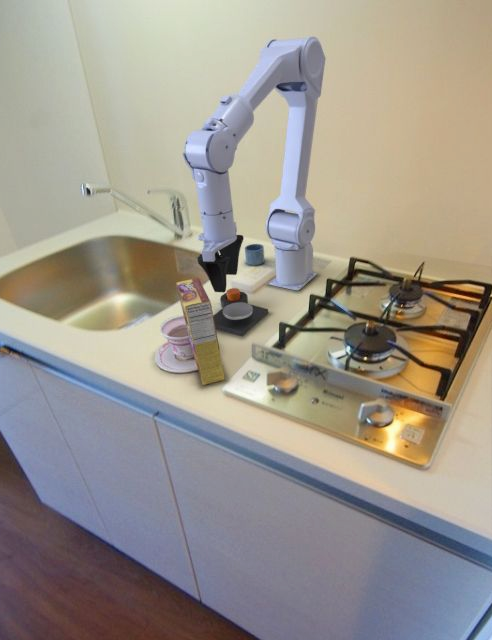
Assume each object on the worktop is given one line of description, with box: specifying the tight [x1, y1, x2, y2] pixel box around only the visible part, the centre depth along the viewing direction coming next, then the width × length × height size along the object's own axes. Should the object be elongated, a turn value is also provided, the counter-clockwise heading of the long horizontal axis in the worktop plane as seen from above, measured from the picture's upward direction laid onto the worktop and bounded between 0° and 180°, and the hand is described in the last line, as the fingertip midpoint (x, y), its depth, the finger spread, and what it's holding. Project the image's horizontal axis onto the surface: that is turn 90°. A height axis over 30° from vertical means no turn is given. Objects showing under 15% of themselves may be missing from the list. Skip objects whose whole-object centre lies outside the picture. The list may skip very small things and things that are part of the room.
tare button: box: [226, 287, 241, 301], centre depth 90 cm, size 3×3×2 cm
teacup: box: [154, 314, 198, 374], centre depth 78 cm, size 12×12×6 cm
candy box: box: [175, 277, 226, 386], centre depth 71 cm, size 9×4×15 cm, turn 17°
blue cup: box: [244, 243, 266, 267], centre depth 109 cm, size 5×5×4 cm
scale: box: [213, 290, 269, 337], centre depth 88 cm, size 11×10×3 cm
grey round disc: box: [222, 302, 253, 320], centre depth 85 cm, size 6×6×1 cm
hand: (226, 282), depth 84 cm, fingers open, 7 cm apart
